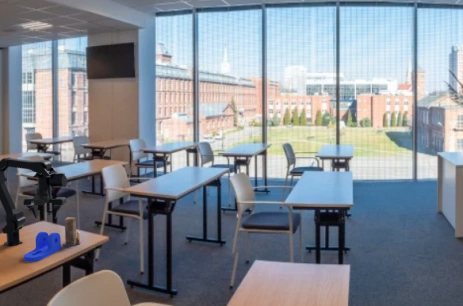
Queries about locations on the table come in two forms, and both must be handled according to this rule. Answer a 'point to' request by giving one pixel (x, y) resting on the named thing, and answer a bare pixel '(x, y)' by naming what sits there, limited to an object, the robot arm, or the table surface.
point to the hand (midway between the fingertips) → (45, 218)
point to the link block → (70, 230)
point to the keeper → (75, 242)
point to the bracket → (44, 246)
